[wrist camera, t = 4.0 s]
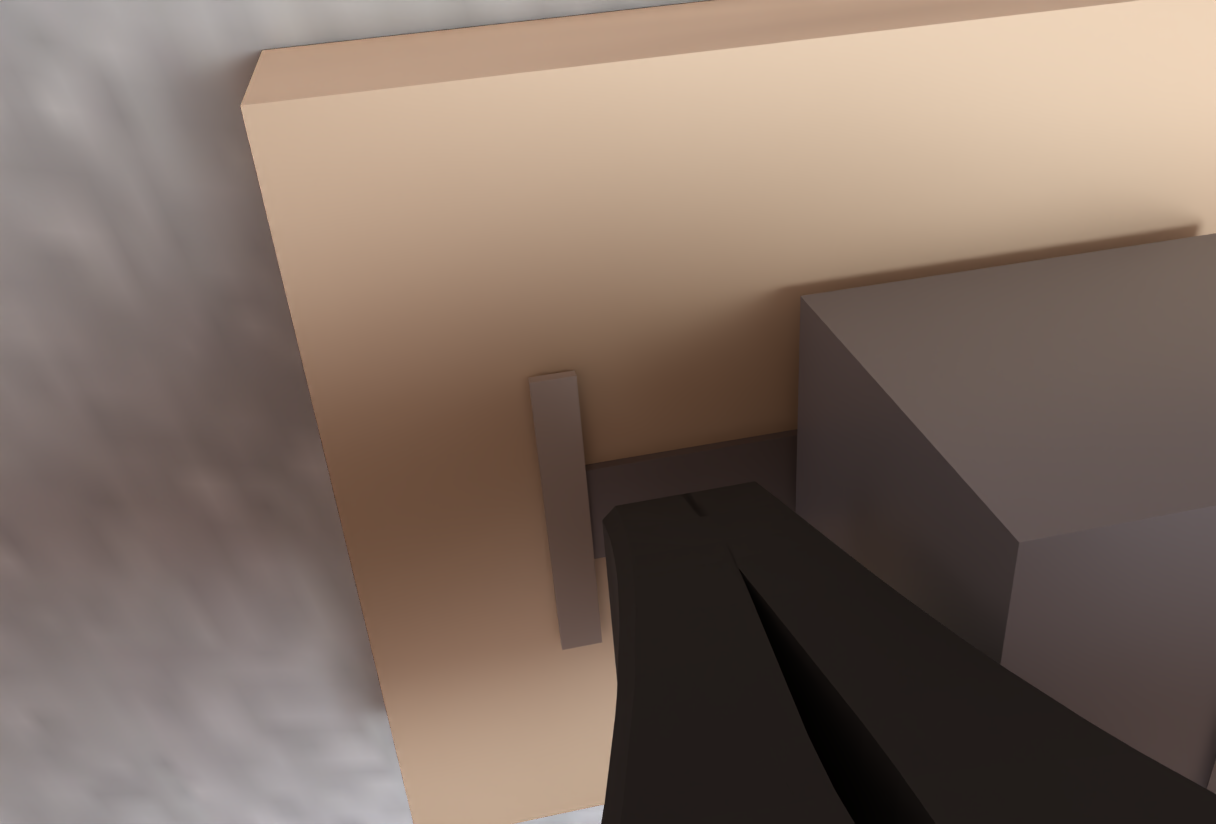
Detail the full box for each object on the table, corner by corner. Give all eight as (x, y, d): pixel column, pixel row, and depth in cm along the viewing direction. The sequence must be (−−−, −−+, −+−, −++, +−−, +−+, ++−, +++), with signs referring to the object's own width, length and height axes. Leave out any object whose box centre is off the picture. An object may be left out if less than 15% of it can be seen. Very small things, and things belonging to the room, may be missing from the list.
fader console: (1398, 518, 15) (1539, 616, 13) (410, 710, 13) (419, 855, 12) (1628, -102, 11) (1874, -81, 9) (261, 50, 9) (238, 110, 8)
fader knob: (1147, 586, 12) (1431, 870, 8) (791, 657, 11) (959, 988, 8) (1233, 226, 9) (1650, 428, 6) (800, 290, 9) (1030, 545, 6)
